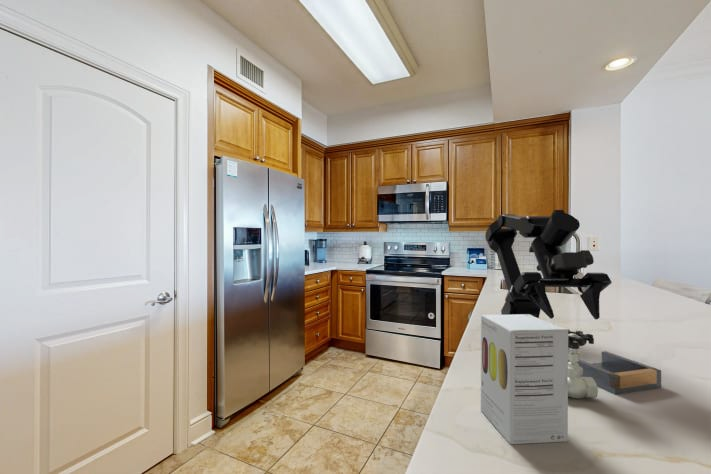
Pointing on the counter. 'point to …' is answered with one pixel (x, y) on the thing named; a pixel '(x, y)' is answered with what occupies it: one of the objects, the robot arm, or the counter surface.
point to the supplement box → (525, 378)
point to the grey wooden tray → (621, 374)
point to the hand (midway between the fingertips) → (574, 318)
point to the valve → (579, 368)
